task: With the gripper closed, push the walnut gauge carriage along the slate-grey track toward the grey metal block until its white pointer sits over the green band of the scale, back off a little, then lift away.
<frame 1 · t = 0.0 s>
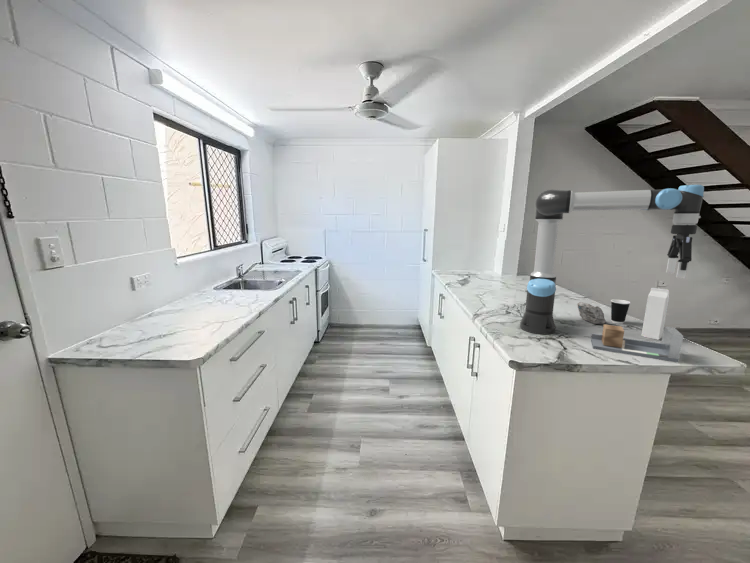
hand: (675, 275, 133), 28 cm above the countertop, fingers open, 13 cm apart
dixie cup: (617, 322, 160), on the countertop
milk: (651, 337, 141), on the countertop
grey metal block: (668, 356, 121), resting on gauge track
rock: (589, 321, 162), on the countertop
carriage: (613, 336, 128), point 5 cm above the countertop, slide at 0.0 cm
gauge track: (630, 350, 126), on the countertop
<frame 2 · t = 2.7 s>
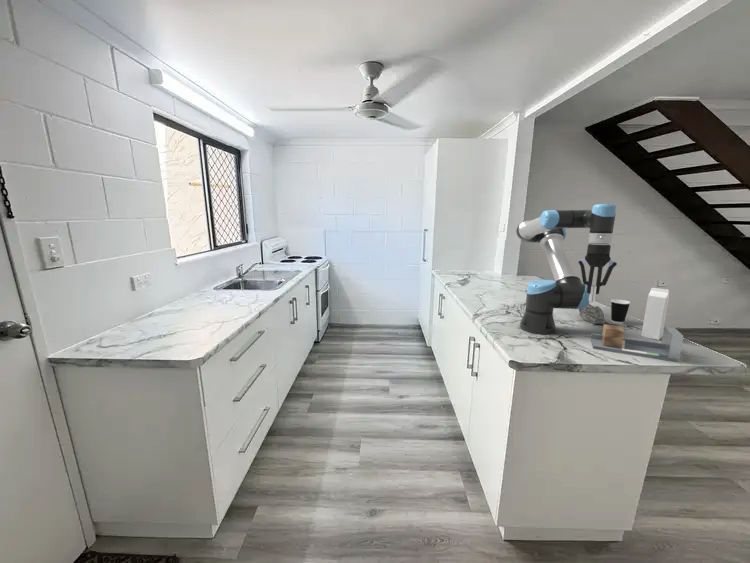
hand: (591, 301, 130), 18 cm above the countertop, fingers closed
nothing on the countertop moved.
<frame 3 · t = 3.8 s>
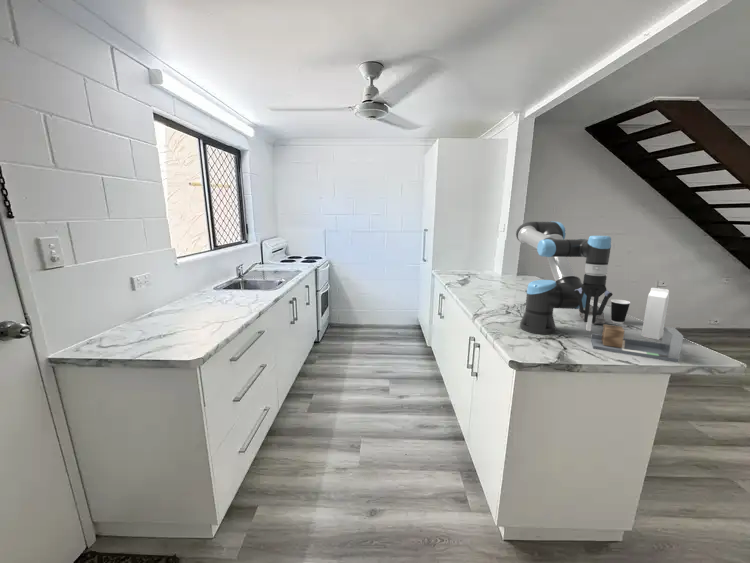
hand: (588, 329, 132), 6 cm above the countertop, fingers closed
nothing on the countertop moved.
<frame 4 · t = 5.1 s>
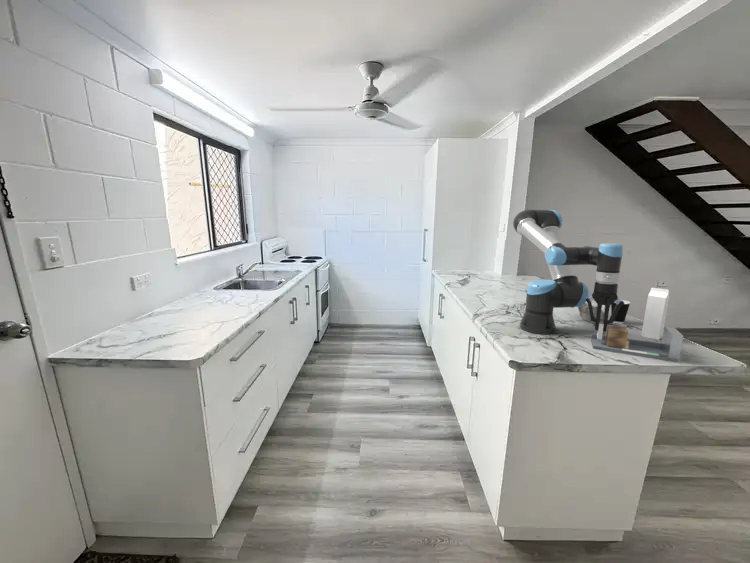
hand: (599, 338, 130), 3 cm above the countertop, fingers closed
carriage: (617, 336, 127), point 5 cm above the countertop, slide at 1.2 cm, touching gripper
everything else where it was.
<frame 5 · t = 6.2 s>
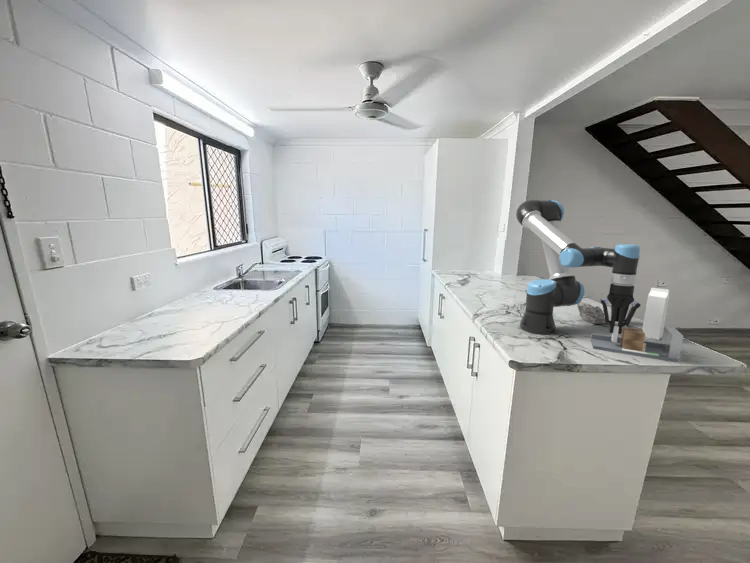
hand: (613, 340, 128), 3 cm above the countertop, fingers closed
carriage: (633, 339, 125), point 5 cm above the countertop, slide at 6.3 cm, touching gripper
everything else where it was.
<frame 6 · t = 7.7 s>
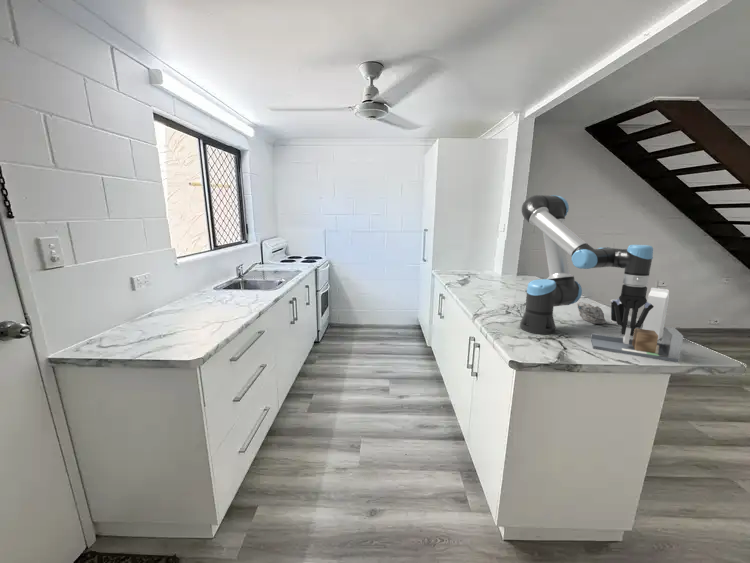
hand: (625, 342, 127), 3 cm above the countertop, fingers closed
carriage: (646, 340, 123), point 5 cm above the countertop, slide at 10.2 cm, touching gripper
everything else where it was.
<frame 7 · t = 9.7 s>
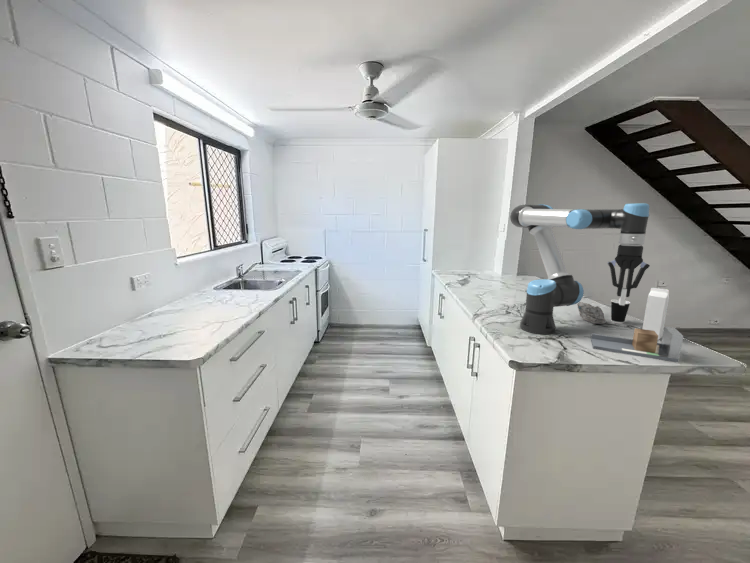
hand: (621, 304, 125), 18 cm above the countertop, fingers closed
carriage: (646, 340, 123), point 5 cm above the countertop, slide at 10.2 cm
everything else where it was.
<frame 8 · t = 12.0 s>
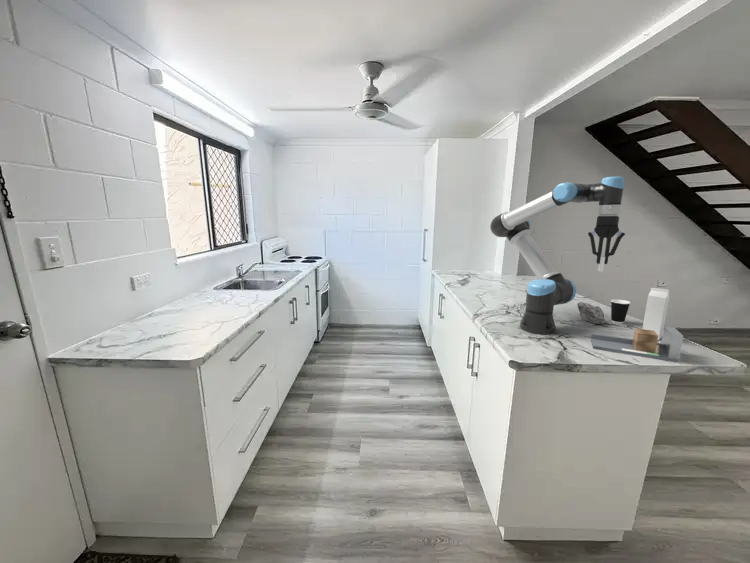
hand: (600, 271, 137), 29 cm above the countertop, fingers closed
nothing on the countertop moved.
at the end: carriage slide at 10.2 cm; carriage touching nothing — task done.
